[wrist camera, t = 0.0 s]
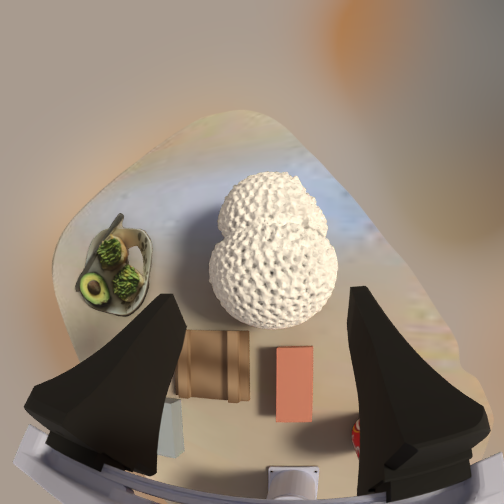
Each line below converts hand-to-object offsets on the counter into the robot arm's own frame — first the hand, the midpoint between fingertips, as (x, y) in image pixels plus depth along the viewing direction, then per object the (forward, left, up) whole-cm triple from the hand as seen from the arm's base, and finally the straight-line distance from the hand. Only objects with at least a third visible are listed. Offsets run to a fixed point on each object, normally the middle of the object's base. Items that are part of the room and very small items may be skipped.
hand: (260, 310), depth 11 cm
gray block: (-18, +21, -33) cm, 43 cm away
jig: (-6, +13, -32) cm, 35 cm away
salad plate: (+9, +33, -33) cm, 47 cm away
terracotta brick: (-9, 0, -33) cm, 34 cm away
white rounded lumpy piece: (+9, +3, -33) cm, 34 cm away
